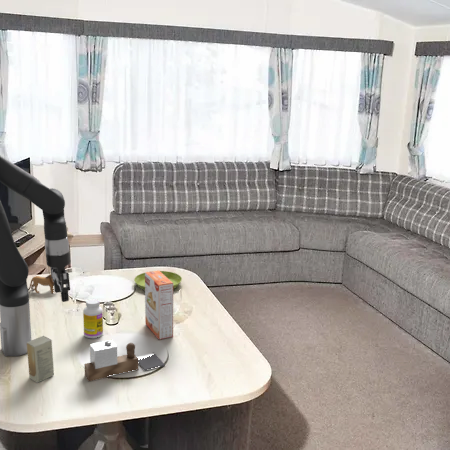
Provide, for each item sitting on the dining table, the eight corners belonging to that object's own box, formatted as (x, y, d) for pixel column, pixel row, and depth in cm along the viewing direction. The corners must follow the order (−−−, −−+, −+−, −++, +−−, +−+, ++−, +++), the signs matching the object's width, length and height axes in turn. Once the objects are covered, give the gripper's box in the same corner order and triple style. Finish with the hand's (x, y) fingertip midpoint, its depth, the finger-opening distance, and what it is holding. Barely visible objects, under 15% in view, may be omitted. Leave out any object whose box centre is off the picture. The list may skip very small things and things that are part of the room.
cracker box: (144, 324, 218) (144, 271, 213) (159, 322, 221) (159, 269, 216) (157, 340, 206) (157, 284, 201) (173, 337, 209) (174, 282, 204)
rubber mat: (144, 370, 186) (144, 369, 186) (134, 358, 193) (134, 356, 193) (164, 366, 189) (164, 364, 189) (153, 354, 197) (153, 352, 197)
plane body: (88, 381, 179) (87, 355, 176) (84, 375, 182) (83, 350, 180) (138, 369, 186) (138, 344, 184) (133, 364, 190) (133, 339, 187)
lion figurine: (63, 288, 250) (62, 268, 248) (62, 292, 245) (61, 272, 243) (26, 290, 247) (25, 269, 245) (25, 294, 242) (24, 274, 240)
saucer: (164, 274, 272) (164, 267, 271) (191, 287, 256) (191, 280, 256) (125, 283, 259) (125, 276, 258) (150, 298, 244) (150, 291, 243)
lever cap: (95, 369, 178) (94, 349, 176) (90, 361, 182) (89, 342, 181) (117, 364, 182) (117, 344, 180) (112, 356, 186) (111, 337, 184)
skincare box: (46, 370, 184) (44, 334, 181) (54, 375, 181) (52, 339, 178) (28, 378, 179) (25, 341, 176) (36, 383, 177) (34, 346, 173)
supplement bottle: (98, 340, 205) (97, 306, 202) (80, 337, 206) (79, 303, 203) (106, 332, 212) (105, 298, 208) (88, 329, 213) (87, 296, 209)
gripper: (40, 246, 195) (45, 291, 200) (51, 259, 183) (56, 306, 188) (62, 242, 198) (66, 287, 203) (75, 254, 187) (79, 301, 191)
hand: (61, 296), depth 195 cm, fingers open, 8 cm apart
